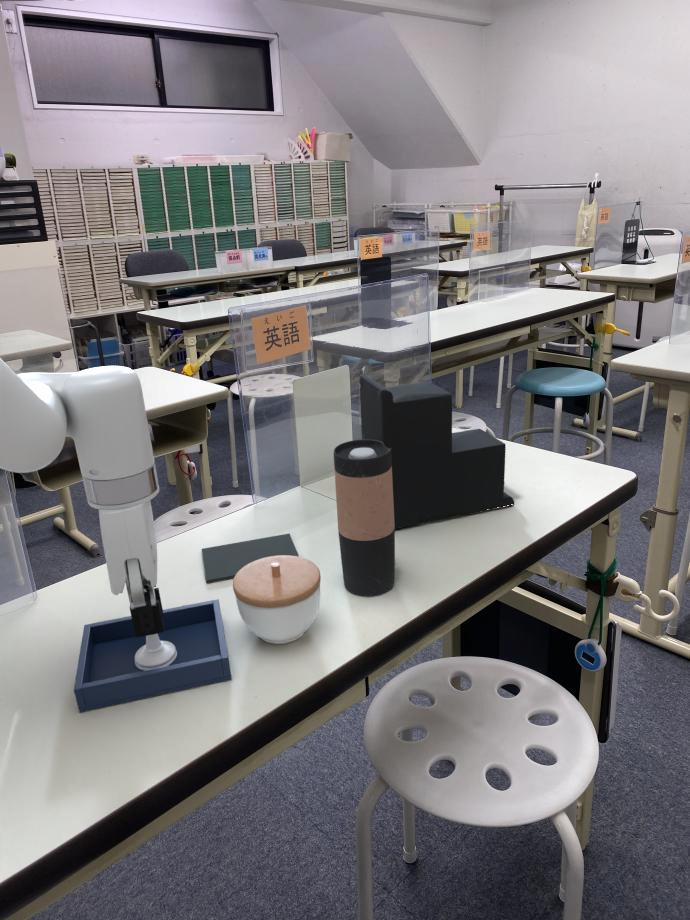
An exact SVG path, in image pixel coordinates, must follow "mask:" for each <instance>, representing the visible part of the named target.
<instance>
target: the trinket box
mask: <svg viewBox="0 0 690 920" xmlns="http://www.w3.org/2000/svg"><path fill="white" fill-rule="evenodd" d="M321 579H322V577H321V571H320V569H319V567H318V566H317V565H316V564H315V562H312V560H309V559H308V558H305V557H302V556H299V557H298V556H291V555H278V556H270V557H266V558H262V559H259V560H256V561H253V562H251V563H249V564H247V565H246V566H244V567H243V568H242V569H240V570H239V571H238V572H237V574H236V575H235V577H234V578H233V579H232V589H233V593H234V597H235V603H236V607H237V610H238V613H239V616H240V618H241V620H242V622H243V624H244V625H245V627H246V628H247V629H248V630H249V631H250V632H251V633H253V634H254V635H255V636H257V637H258V638H260V639H261V640H262V641H264V642H266V643H269V644H274V645H284V644H289V643H293V642H295V641H297V640H298V639H300V638H301V637H303V635H304V634H305V633H306V631H308V630H309V628H310V627H311V626H312V624H313V623H314V622H315V620H316V619H317V616H318V613H319V610H320V605H321V594H322V591H321Z"/></svg>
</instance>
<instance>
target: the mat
mask: <svg viewBox="0 0 690 920" xmlns="http://www.w3.org/2000/svg"><path fill="white" fill-rule="evenodd" d="M278 555H291V556H298V557H300V556H299V553H298V550H297V549H296V546H295V543H294V541H293V539H292V536H291V534H290V533H283V534H278V535H272V536H267V537H261V538H255V539H250V540H244V541H238V542H233V543H232V542H231V543H227V544H226V543H225V544H221V545H216V546H210V547H204V548H203V547H202V548H201V556H202V561H203V569H204V576H205V582H206V584H210V583H217V582H222V581H226V580H228V581H229V580H233V579H234V577H235V575H236V574H237V572H238V571H239V570H240V569H242V568H243V567H244V566H246V565H247V564H249V563H251V562H253V561H256V560H259V559H262V558H266V557H270V556H278Z"/></svg>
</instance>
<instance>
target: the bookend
mask: <svg viewBox="0 0 690 920" xmlns="http://www.w3.org/2000/svg"><path fill="white" fill-rule="evenodd" d="M358 377H359V379H358V382H359V401H360V404H359V405H360V426H361V440H363V439H369V440H378V441H381V442H383V444H384V445H385V446H386V447H387V448H388V449H390V448H391V461H392V481H393V502H394V523H395V530H396V529H400V528H405V527H406V528H407V527H410V526H415V525H420V524H421V525H422V524H426V523H431V522H436V521H437V522H438V521H441V520H447V519H451V518H457V517H462V516H468V515H471V513H472V514H477V513H476V512H478V513H481V512H480V511H483V512H486V511H485V510H487V509H493V508H497V507H503V506H507V505H511V504H514V505H515V500H514V498H513V496H511V495H510V494H508V493H507V492H505V475H506V474H505V473H506V449H507V448H506V443H505V442H503V441H501V440H500V439H499V438H496V437H495V436H493V435H491V434H490V433H488V432H486V431H485V430H483V429H481V428H475V429H467V430H463V431H462V430H461V431H455V432H453V394H452V393H450V392H449V391H447V390H445V389H444V388H442V387H440V386H438V385H436V384H435V383H433V382H432V381H420V382H414V383H407V384H401V385H393V386H385V387H384V386H383V385H382V384H380V383H379V382H377V381H376V380H374V379H373V378H371V377H370V376H368V375H366V374H364V373H363V374H362V373H361V374H359V375H358ZM503 508H504V507H503ZM493 510H494V509H493ZM467 514H468V515H467Z"/></svg>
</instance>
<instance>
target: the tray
mask: <svg viewBox="0 0 690 920" xmlns="http://www.w3.org/2000/svg"><path fill="white" fill-rule="evenodd" d="M162 620H163V626H164V631H163V632H162V633H158V637H159V639H160V641H168V642H171V643H172V644H173V645H174V646H175V648H176V651H177V656H176V658H175V660H174V661H173V662H172V663H171V664H170V665H168V666H166V667H161V668H156V669H152V670H147V671H145V670H141V669H139V668H138V667H137V666H136V665H135V654H136V652H137V651H138V650H139V649H140V648H141V647H142V646H144V645H146V636H143V637H136V636H135V632H134V627H133V622H132V617H131V615H128V616H123V617H118V618H113V619H106V620H102V621H96V622H92V623H88V624H84V625H83V632H82V637H81V643H80V649H79V657H78V663H77V668H76V675H75V679H74V687H73V693H74V696H75V700H76V704H77V708H78V712H79V713H80V714H81V713H84V712H85V713H86V712H89V711H90V712H91V711H93V710H98V709H103V708H107V707H112V706H117V705H121V704H126V703H130V702H135V701H139V700H144V699H150V698H154V697H158V696H159V697H160V696H162V695H168V694H171V693H177V692H182V691H186V690H190V689H194V688H195V689H196V688H199V687H204V686H208V685H213V684H218V683H223V682H227V681H231V680H232V679H233V678H232V671H231V665H230V659H229V651H228V646H227V641H226V635H225V629H224V623H223V622H224V621H223V616H222V610H221V604H220V599H219V598H216V599H212V600H205V601H202V602H201V601H200V602H196V603H191V604H186V605H181V606H175V607H171V608H164V609H163V618H162Z"/></svg>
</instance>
